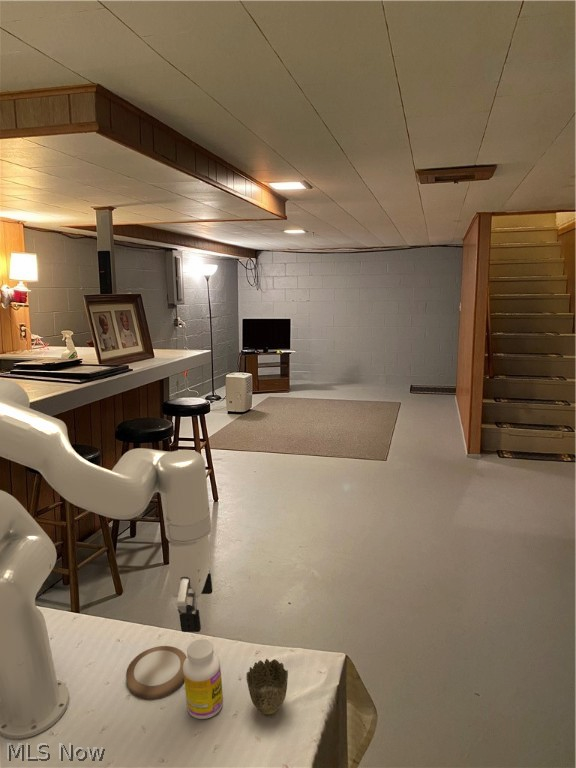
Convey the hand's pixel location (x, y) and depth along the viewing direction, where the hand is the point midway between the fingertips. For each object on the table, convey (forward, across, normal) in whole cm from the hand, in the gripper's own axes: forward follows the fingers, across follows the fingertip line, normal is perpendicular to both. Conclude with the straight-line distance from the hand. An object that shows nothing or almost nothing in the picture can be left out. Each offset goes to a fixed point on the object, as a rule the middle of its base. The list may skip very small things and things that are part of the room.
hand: (197, 610), depth 98 cm
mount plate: (+21, -7, -12) cm, 25 cm away
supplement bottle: (+21, 0, 0) cm, 21 cm away
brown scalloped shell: (+21, 0, +11) cm, 24 cm away
